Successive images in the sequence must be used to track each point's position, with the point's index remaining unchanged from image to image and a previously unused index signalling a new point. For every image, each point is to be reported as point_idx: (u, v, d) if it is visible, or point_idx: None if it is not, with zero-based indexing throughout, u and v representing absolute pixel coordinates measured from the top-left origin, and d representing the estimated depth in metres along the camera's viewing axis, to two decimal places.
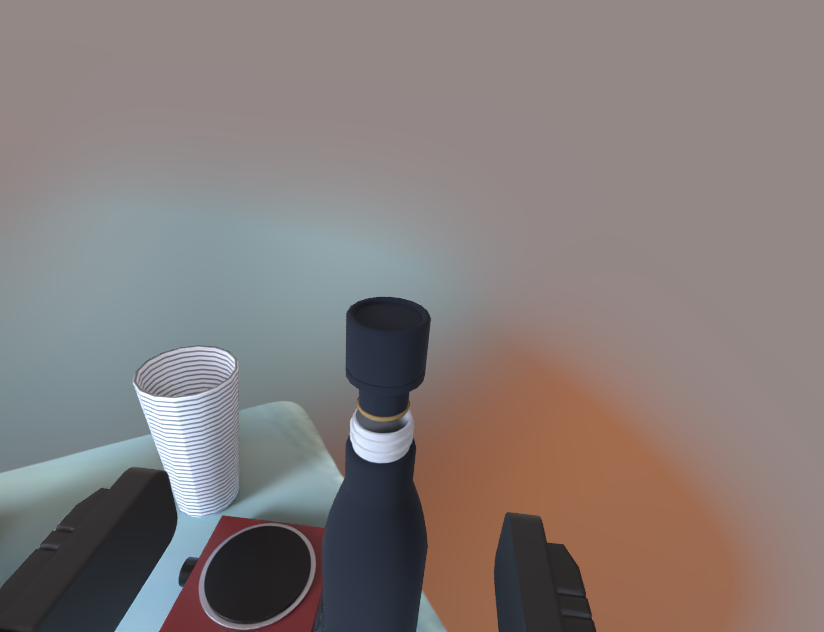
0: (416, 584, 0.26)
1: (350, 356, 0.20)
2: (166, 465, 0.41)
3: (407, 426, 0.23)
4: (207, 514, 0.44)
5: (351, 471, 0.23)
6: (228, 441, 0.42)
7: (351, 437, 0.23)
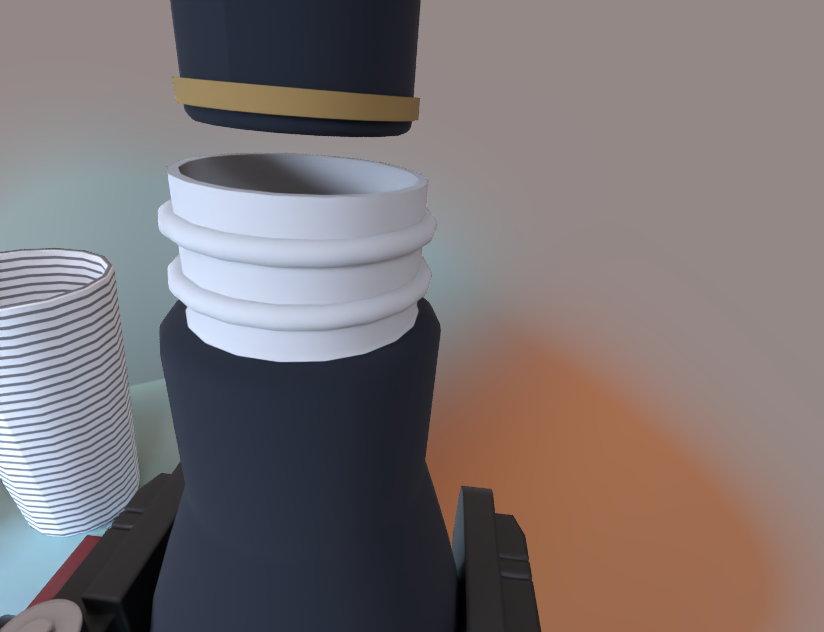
0: None
1: None
2: None
3: (409, 190, 0.05)
4: (72, 532, 0.27)
5: (174, 409, 0.06)
6: (96, 407, 0.24)
7: (171, 264, 0.05)
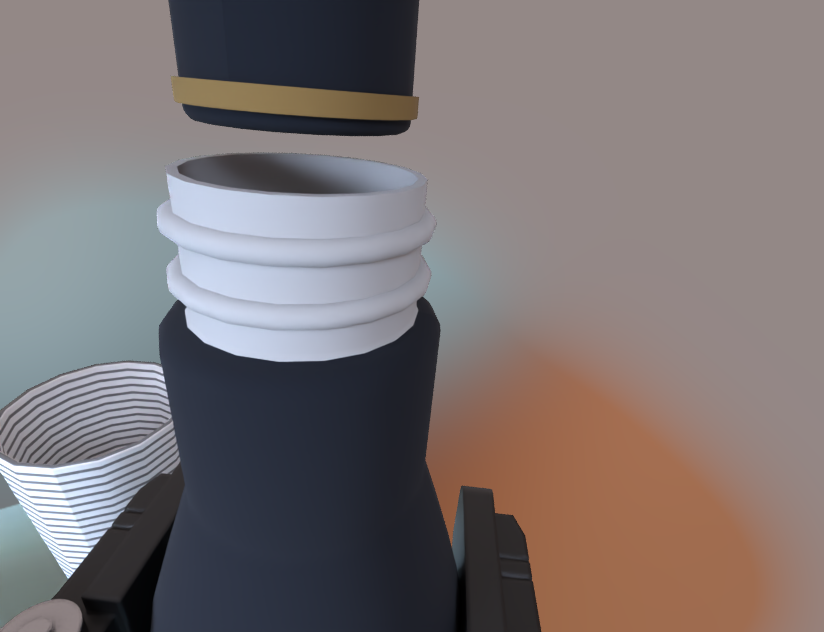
0: None
1: None
2: (64, 570, 0.24)
3: (408, 189, 0.05)
4: None
5: (175, 409, 0.06)
6: None
7: (170, 264, 0.05)
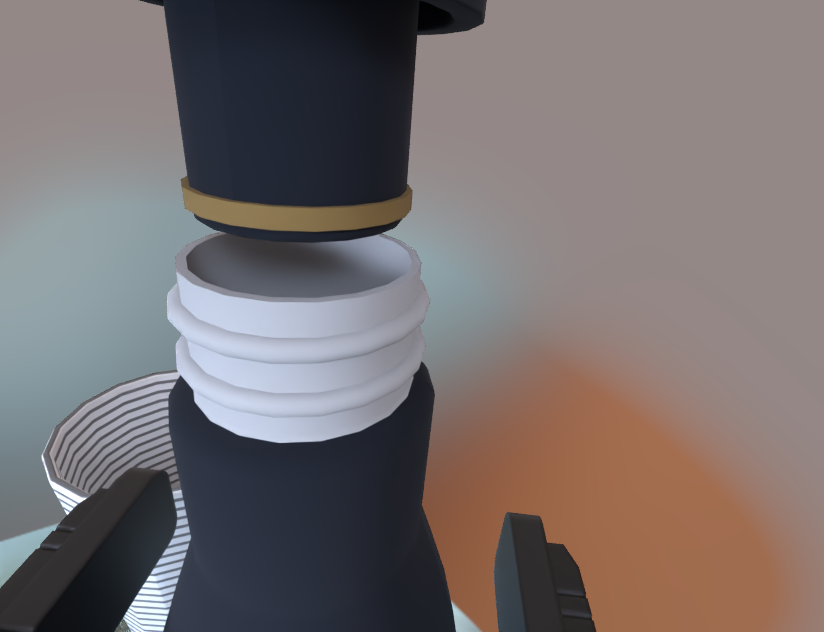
0: None
1: None
2: None
3: (400, 282, 0.05)
4: None
5: (182, 477, 0.06)
6: None
7: (179, 341, 0.06)
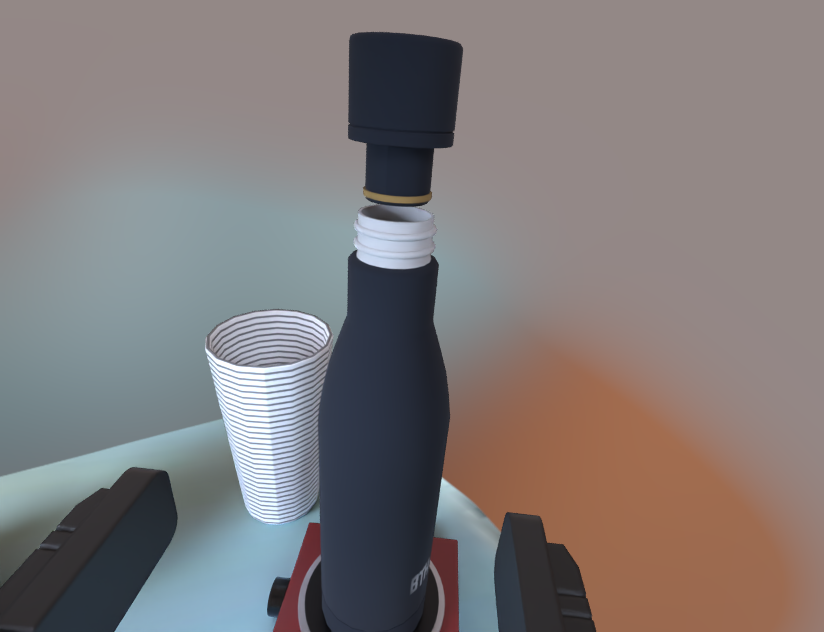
0: (437, 457, 0.21)
1: (354, 94, 0.15)
2: (240, 458, 0.32)
3: (428, 220, 0.17)
4: (286, 521, 0.36)
5: (355, 286, 0.18)
6: (317, 428, 0.33)
7: (355, 241, 0.18)
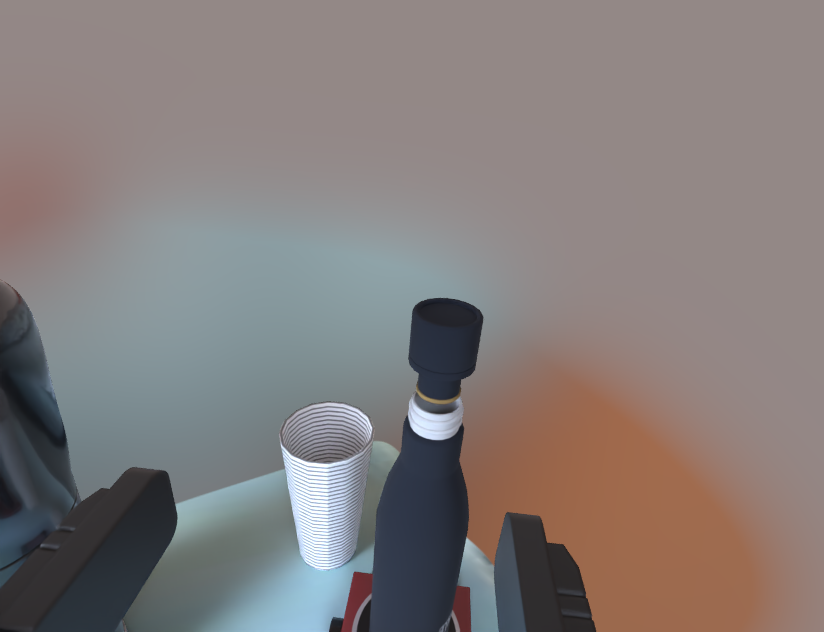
0: (460, 549, 0.30)
1: (415, 347, 0.24)
2: (302, 522, 0.42)
3: (459, 409, 0.26)
4: (333, 567, 0.45)
5: (410, 447, 0.27)
6: (361, 498, 0.43)
7: (410, 417, 0.27)
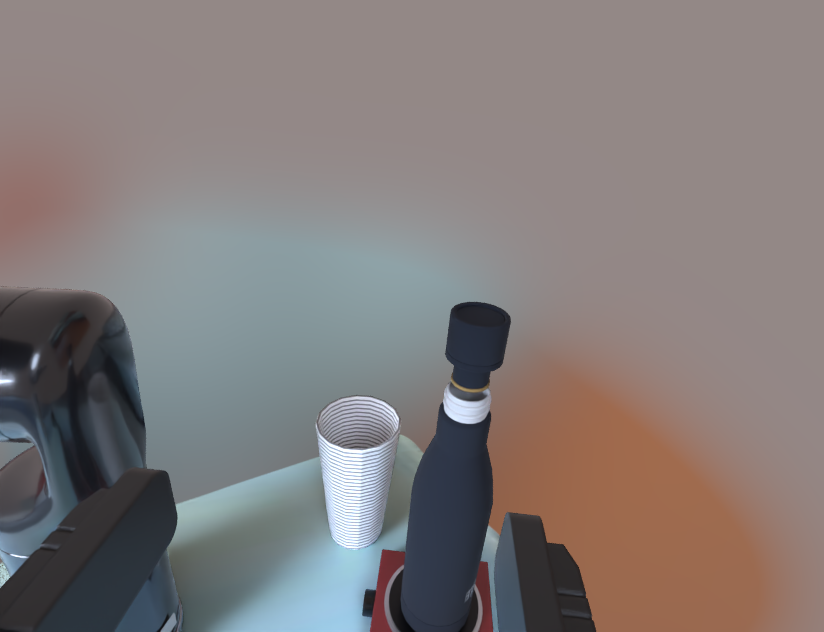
0: (486, 521, 0.35)
1: (453, 344, 0.29)
2: (335, 505, 0.46)
3: (488, 397, 0.31)
4: (362, 547, 0.49)
5: (445, 430, 0.32)
6: (388, 483, 0.47)
7: (445, 405, 0.32)
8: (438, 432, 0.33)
